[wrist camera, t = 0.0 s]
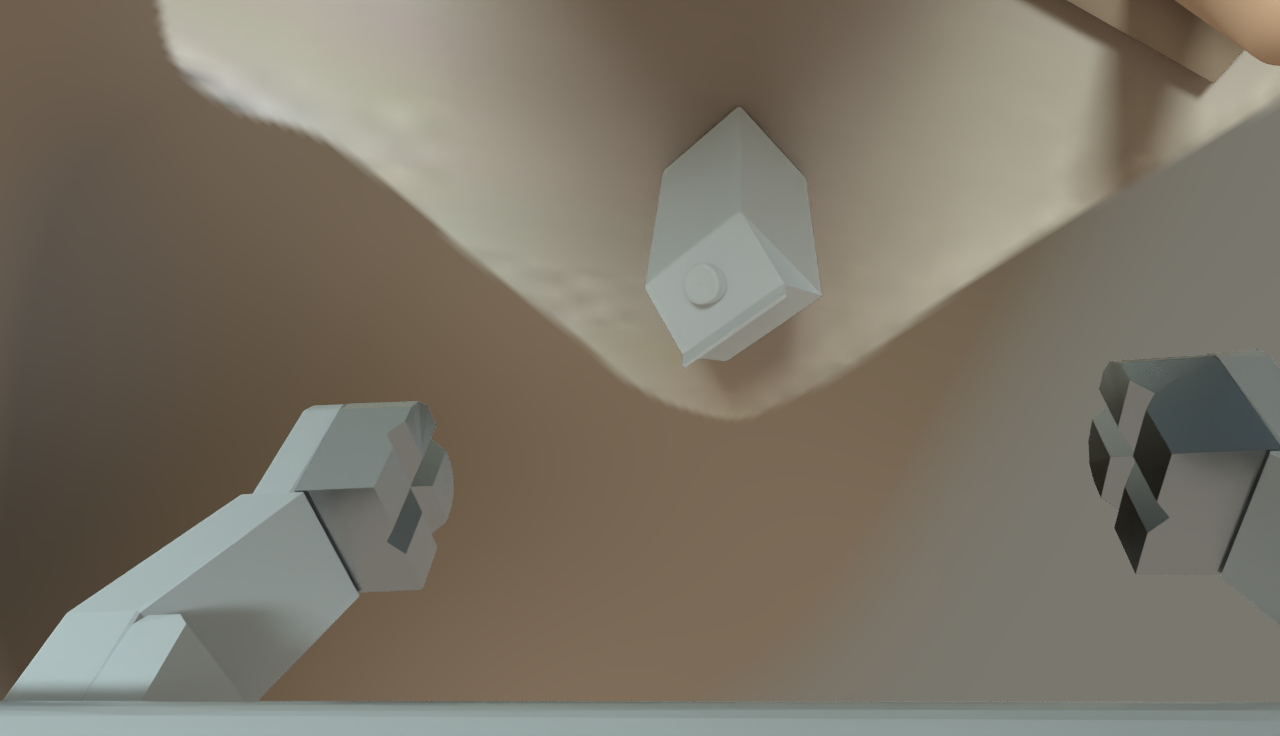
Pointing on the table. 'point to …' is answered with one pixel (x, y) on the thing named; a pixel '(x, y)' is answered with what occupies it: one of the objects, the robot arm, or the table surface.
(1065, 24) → the table surface
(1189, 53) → the socket board
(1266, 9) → the peg
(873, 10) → the table surface
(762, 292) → the milk carton
